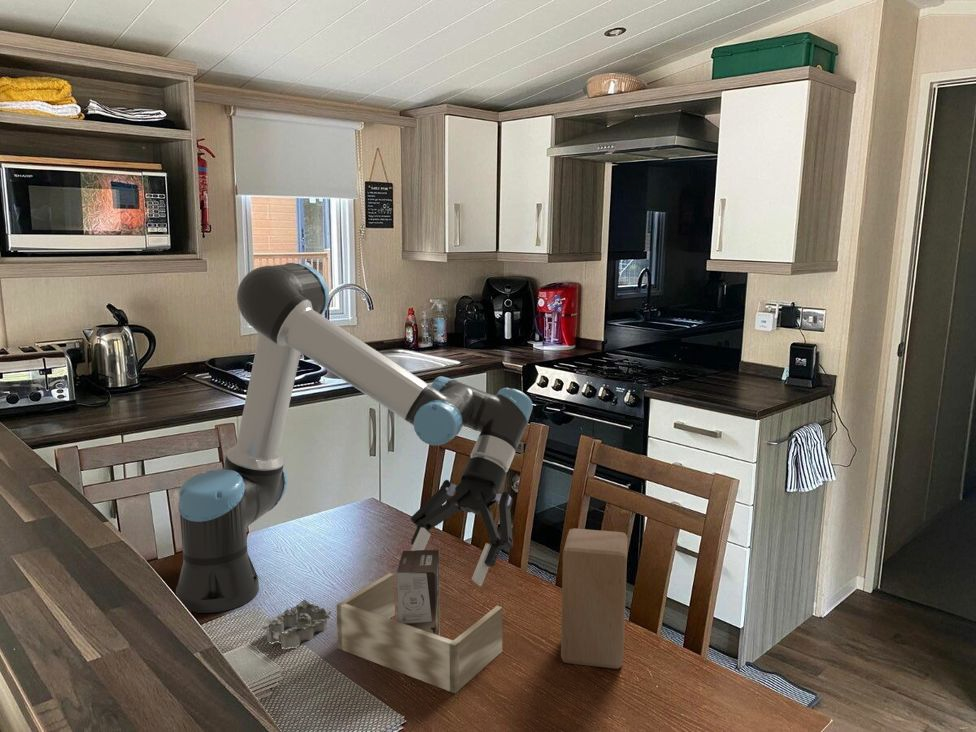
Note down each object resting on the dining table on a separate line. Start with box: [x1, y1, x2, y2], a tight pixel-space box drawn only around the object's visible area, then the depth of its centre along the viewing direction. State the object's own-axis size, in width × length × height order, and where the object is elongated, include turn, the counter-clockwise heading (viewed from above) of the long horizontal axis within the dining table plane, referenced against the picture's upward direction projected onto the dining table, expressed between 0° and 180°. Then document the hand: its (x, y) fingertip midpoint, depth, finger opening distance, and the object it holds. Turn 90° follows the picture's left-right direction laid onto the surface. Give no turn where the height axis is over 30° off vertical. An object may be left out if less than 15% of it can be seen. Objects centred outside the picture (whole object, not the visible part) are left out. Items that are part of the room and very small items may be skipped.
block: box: [560, 528, 629, 670], centre depth 126 cm, size 10×10×20 cm
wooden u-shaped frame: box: [336, 572, 503, 694], centre depth 127 cm, size 24×14×8 cm, turn 58°
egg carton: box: [262, 599, 332, 648], centre depth 133 cm, size 11×8×4 cm
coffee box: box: [396, 549, 441, 636], centre depth 127 cm, size 9×6×16 cm
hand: (442, 573), depth 130 cm, fingers open, 13 cm apart
